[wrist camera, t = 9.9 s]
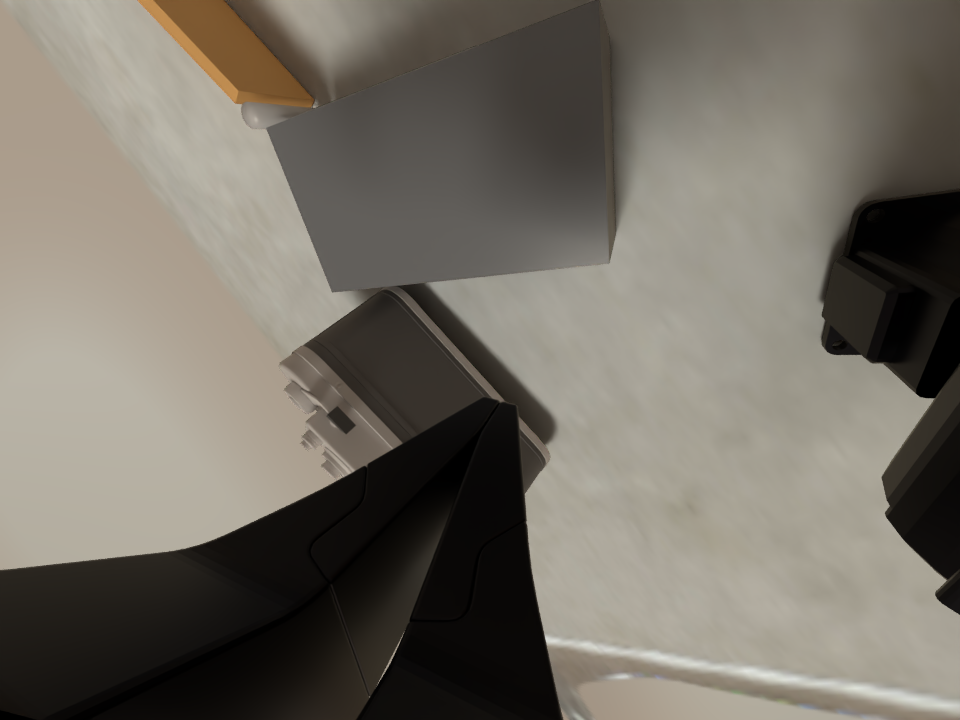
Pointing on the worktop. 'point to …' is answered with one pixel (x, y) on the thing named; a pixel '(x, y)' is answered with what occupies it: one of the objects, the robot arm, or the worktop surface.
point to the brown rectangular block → (228, 51)
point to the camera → (385, 385)
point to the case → (461, 162)
